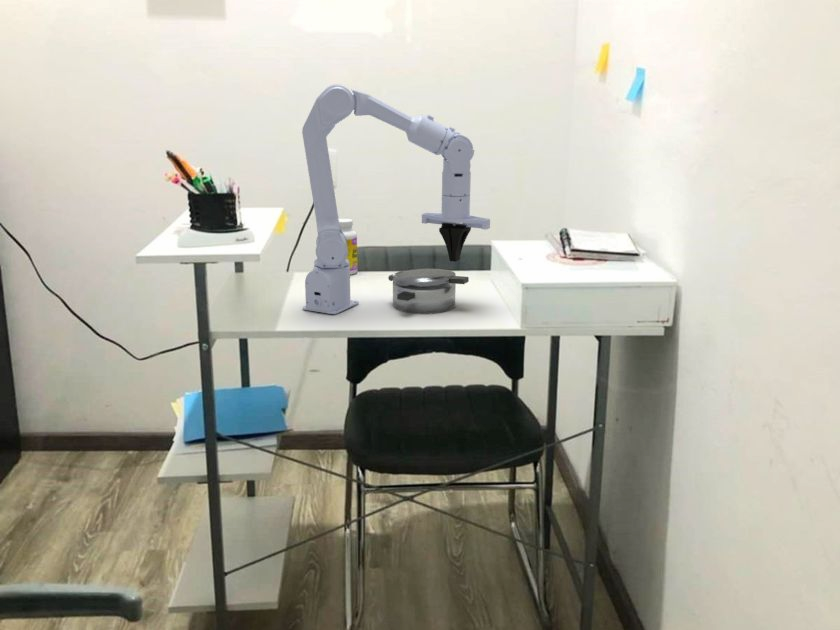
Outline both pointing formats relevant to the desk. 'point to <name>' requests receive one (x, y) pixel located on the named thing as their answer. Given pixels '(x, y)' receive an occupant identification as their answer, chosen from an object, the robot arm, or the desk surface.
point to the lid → (426, 278)
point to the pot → (424, 298)
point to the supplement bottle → (350, 243)
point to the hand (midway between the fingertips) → (454, 260)
